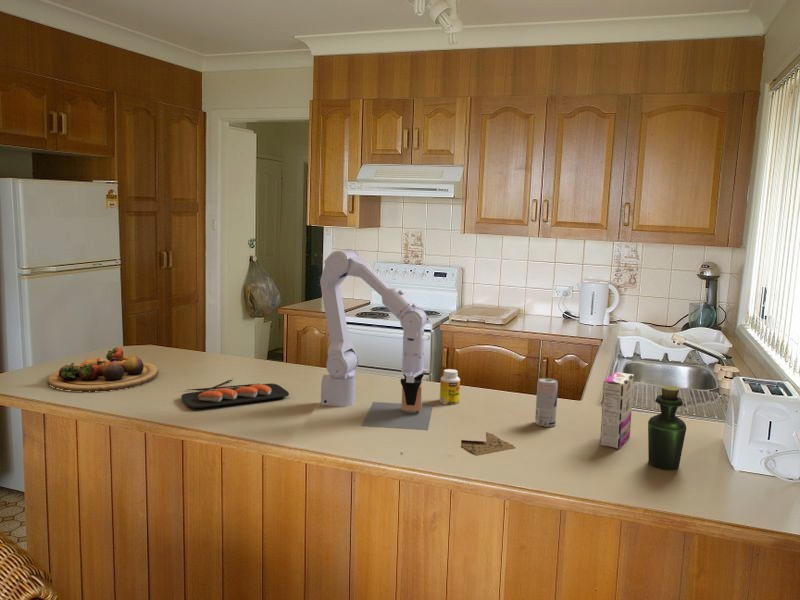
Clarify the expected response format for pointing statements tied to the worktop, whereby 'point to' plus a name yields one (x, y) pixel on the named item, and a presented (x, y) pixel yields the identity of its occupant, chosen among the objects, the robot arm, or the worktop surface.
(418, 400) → the salmon pink block
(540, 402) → the energy drink
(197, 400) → the sushi plate
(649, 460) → the potion bottle
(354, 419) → the worktop surface
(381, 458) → the worktop surface
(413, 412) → the post
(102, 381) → the wooden plate with food
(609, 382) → the candy bar box
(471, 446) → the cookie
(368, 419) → the mat
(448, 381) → the supplement bottle
